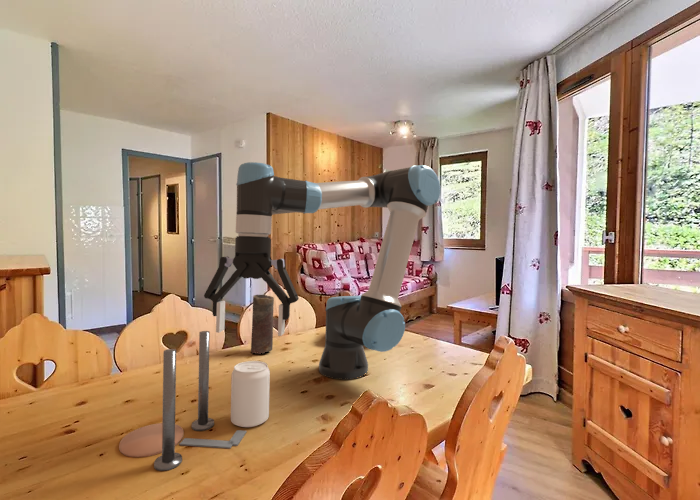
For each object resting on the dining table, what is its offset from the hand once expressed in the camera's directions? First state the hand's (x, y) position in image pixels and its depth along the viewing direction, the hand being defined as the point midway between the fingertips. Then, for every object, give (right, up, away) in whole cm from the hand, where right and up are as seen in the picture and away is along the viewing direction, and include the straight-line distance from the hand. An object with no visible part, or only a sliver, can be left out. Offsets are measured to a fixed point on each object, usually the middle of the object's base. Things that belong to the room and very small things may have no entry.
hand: (250, 332), depth 79 cm
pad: (-17, -19, -8) cm, 27 cm away
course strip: (-5, -19, -7) cm, 21 cm away
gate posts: (-10, -19, -9) cm, 23 cm away
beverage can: (0, -20, +1) cm, 20 cm away
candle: (-9, -18, +48) cm, 52 cm away
